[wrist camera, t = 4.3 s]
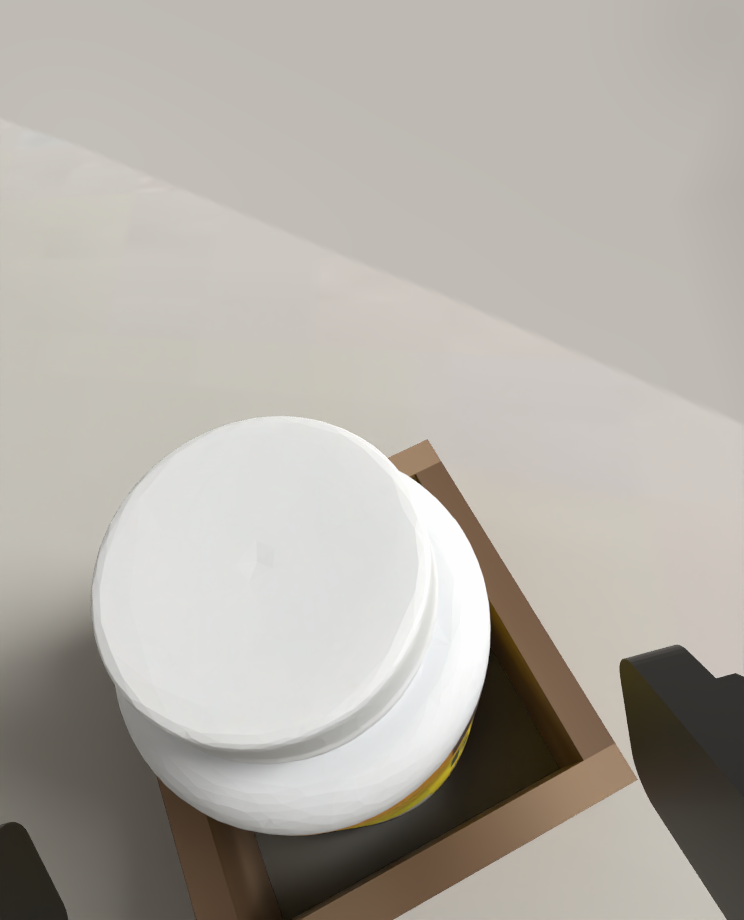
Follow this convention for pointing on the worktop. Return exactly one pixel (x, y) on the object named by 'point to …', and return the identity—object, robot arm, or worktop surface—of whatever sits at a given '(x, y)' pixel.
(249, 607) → the supplement bottle
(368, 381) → the worktop surface
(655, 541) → the worktop surface
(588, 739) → the wooden box
